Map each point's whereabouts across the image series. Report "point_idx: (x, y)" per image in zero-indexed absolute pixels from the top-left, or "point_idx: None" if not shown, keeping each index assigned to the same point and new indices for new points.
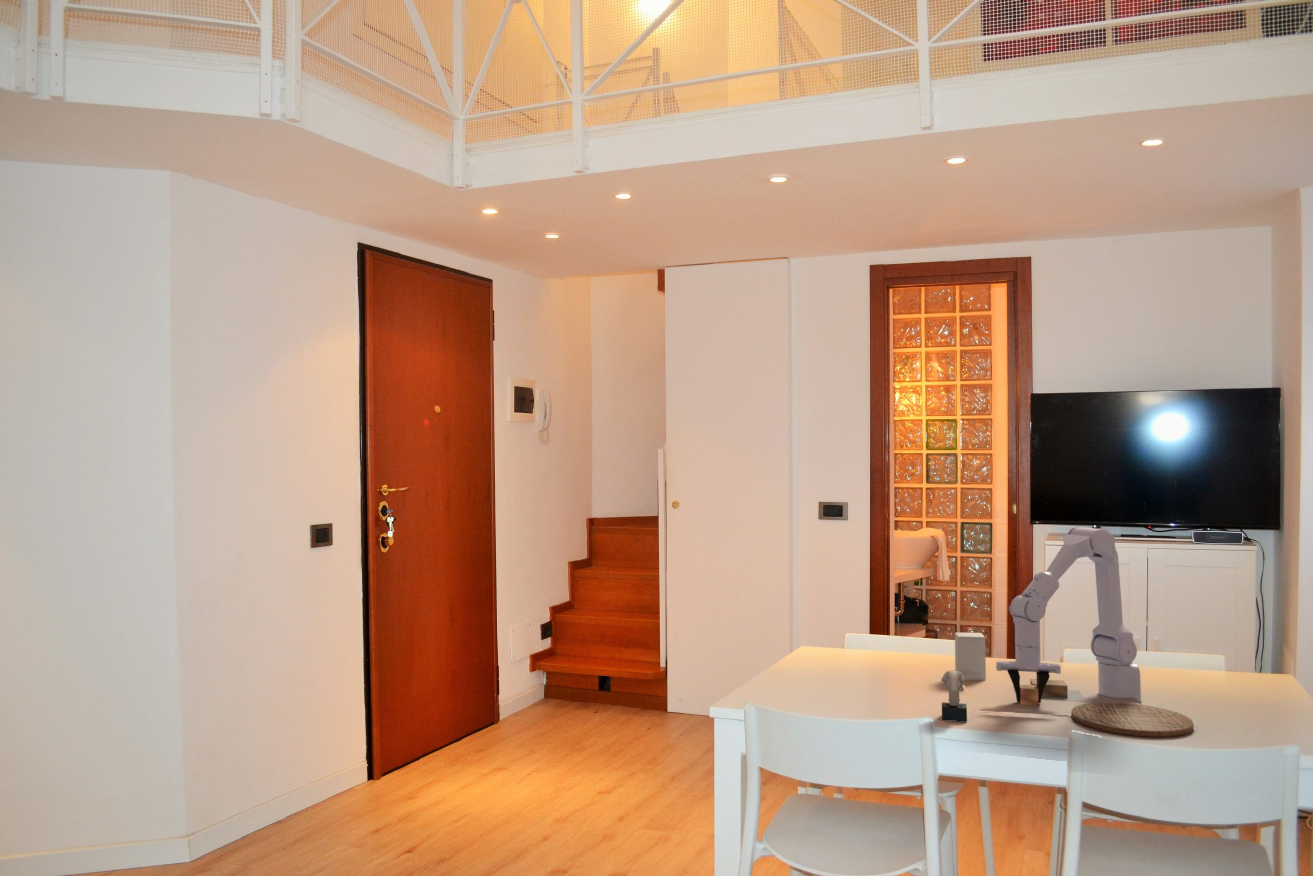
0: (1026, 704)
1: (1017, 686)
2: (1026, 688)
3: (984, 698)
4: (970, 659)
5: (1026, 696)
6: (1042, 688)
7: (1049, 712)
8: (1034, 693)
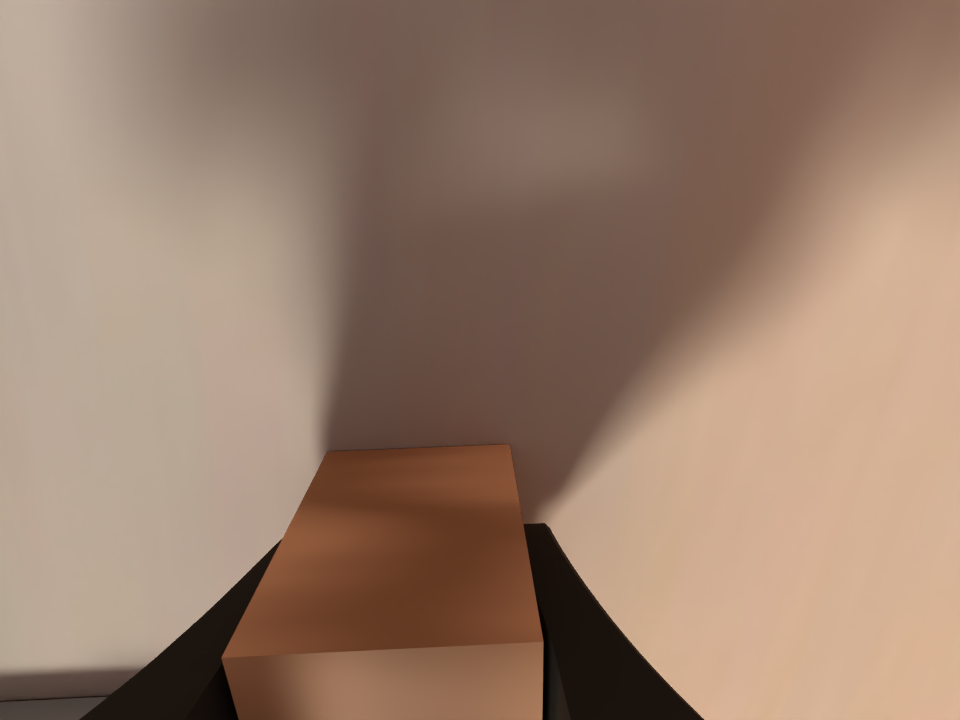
0: (449, 475)
1: (602, 680)
2: (434, 653)
3: (784, 713)
4: None
5: (443, 544)
6: (136, 693)
7: (207, 386)
8: (314, 586)
